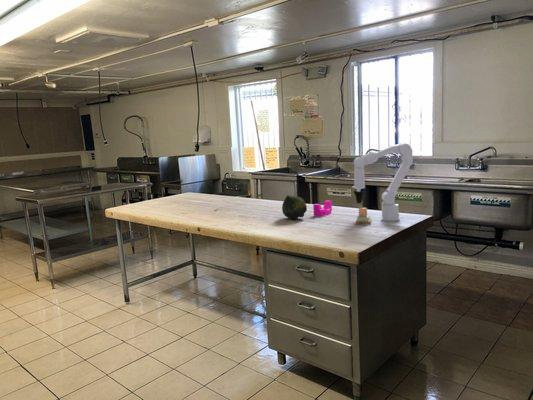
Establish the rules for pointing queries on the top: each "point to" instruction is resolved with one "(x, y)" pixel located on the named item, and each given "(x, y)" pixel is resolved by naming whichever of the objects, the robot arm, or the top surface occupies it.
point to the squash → (294, 207)
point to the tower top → (363, 218)
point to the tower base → (364, 222)
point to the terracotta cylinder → (362, 212)
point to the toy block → (322, 209)
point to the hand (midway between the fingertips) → (359, 202)
